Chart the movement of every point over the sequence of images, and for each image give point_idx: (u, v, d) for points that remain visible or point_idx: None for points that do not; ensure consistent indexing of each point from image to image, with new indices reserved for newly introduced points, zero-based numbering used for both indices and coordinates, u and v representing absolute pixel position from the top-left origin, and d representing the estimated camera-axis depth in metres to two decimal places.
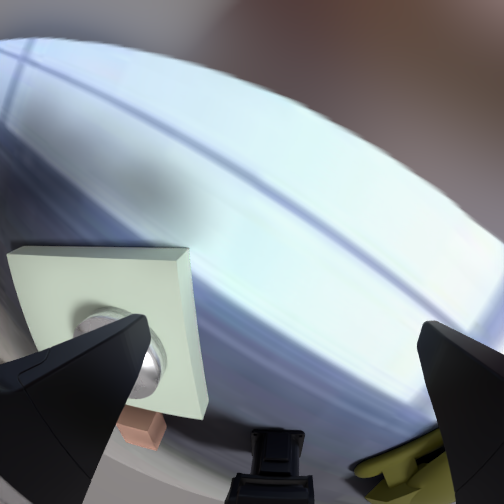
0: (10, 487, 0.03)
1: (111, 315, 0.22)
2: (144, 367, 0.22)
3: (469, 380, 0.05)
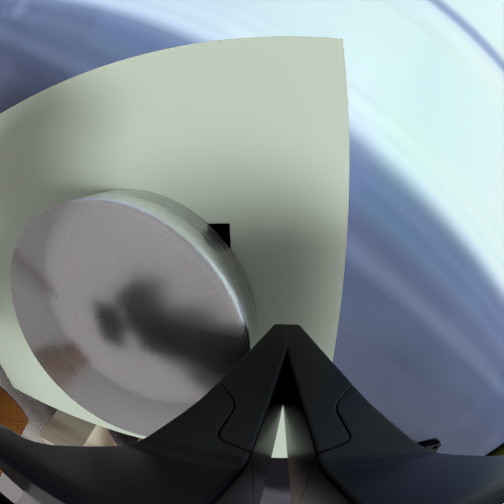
0: None
1: (111, 195, 0.07)
2: (207, 355, 0.07)
3: (292, 398, 0.05)
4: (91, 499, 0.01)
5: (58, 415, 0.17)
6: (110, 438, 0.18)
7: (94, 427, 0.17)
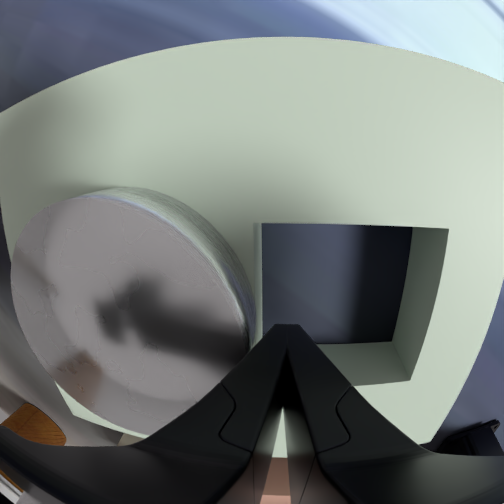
0: None
1: (111, 192, 0.07)
2: (207, 352, 0.07)
3: (292, 398, 0.05)
4: (93, 499, 0.01)
5: (126, 439, 0.16)
6: None
7: None
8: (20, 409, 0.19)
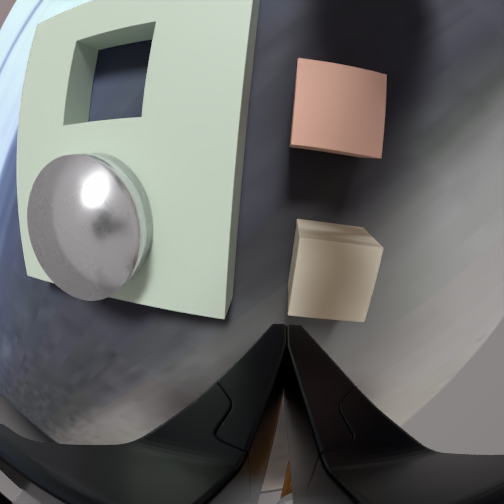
0: None
1: None
2: (65, 173, 0.13)
3: (294, 398, 0.05)
4: (86, 496, 0.01)
5: (289, 284, 0.18)
6: (337, 224, 0.18)
7: (297, 223, 0.17)
8: None
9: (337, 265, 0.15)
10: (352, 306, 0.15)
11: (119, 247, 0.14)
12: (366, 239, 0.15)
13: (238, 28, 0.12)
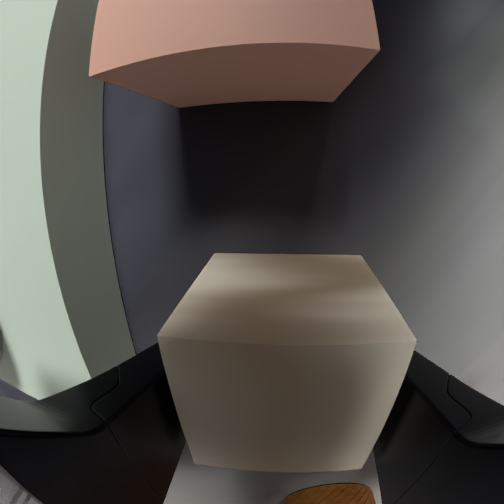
0: None
1: None
2: None
3: None
4: None
5: None
6: (302, 258, 0.08)
7: None
8: None
9: (280, 396, 0.05)
10: (332, 455, 0.05)
11: None
12: (367, 306, 0.05)
13: None
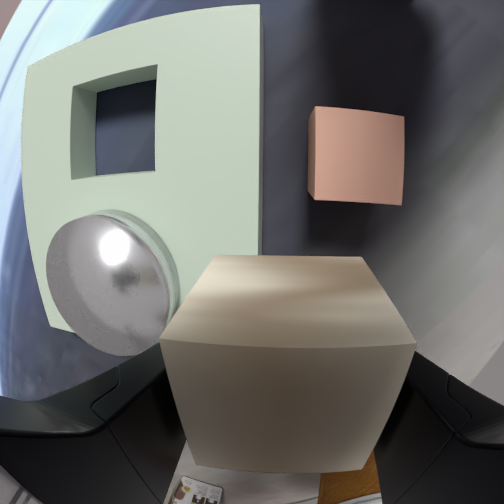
0: None
1: None
2: (83, 236, 0.14)
3: None
4: None
5: None
6: (303, 260, 0.08)
7: (206, 271, 0.08)
8: None
9: (281, 398, 0.05)
10: (332, 456, 0.05)
11: (150, 308, 0.15)
12: (368, 308, 0.05)
13: (248, 70, 0.13)
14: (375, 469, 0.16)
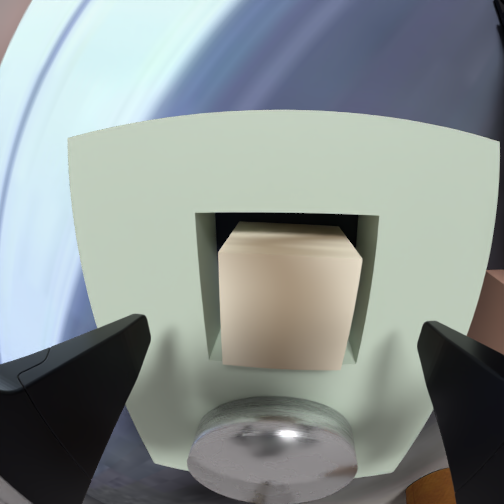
0: (10, 487, 0.03)
1: None
2: (266, 447, 0.10)
3: (469, 380, 0.05)
4: None
5: None
6: (298, 225, 0.13)
7: (235, 228, 0.12)
8: (406, 499, 0.19)
9: (285, 292, 0.09)
10: (318, 351, 0.10)
11: (336, 481, 0.11)
12: (336, 245, 0.10)
13: (482, 247, 0.09)
14: None
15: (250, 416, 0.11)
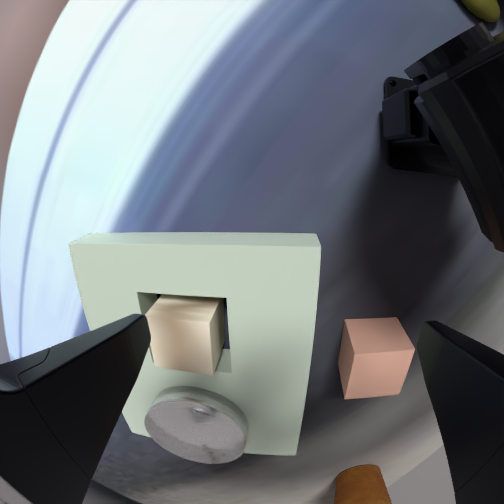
0: (10, 487, 0.03)
1: None
2: (182, 415, 0.20)
3: (469, 380, 0.05)
4: None
5: None
6: None
7: (162, 294, 0.21)
8: None
9: (176, 335, 0.18)
10: (198, 363, 0.19)
11: (234, 447, 0.20)
12: (204, 312, 0.19)
13: (306, 314, 0.18)
14: None
15: (174, 396, 0.20)
